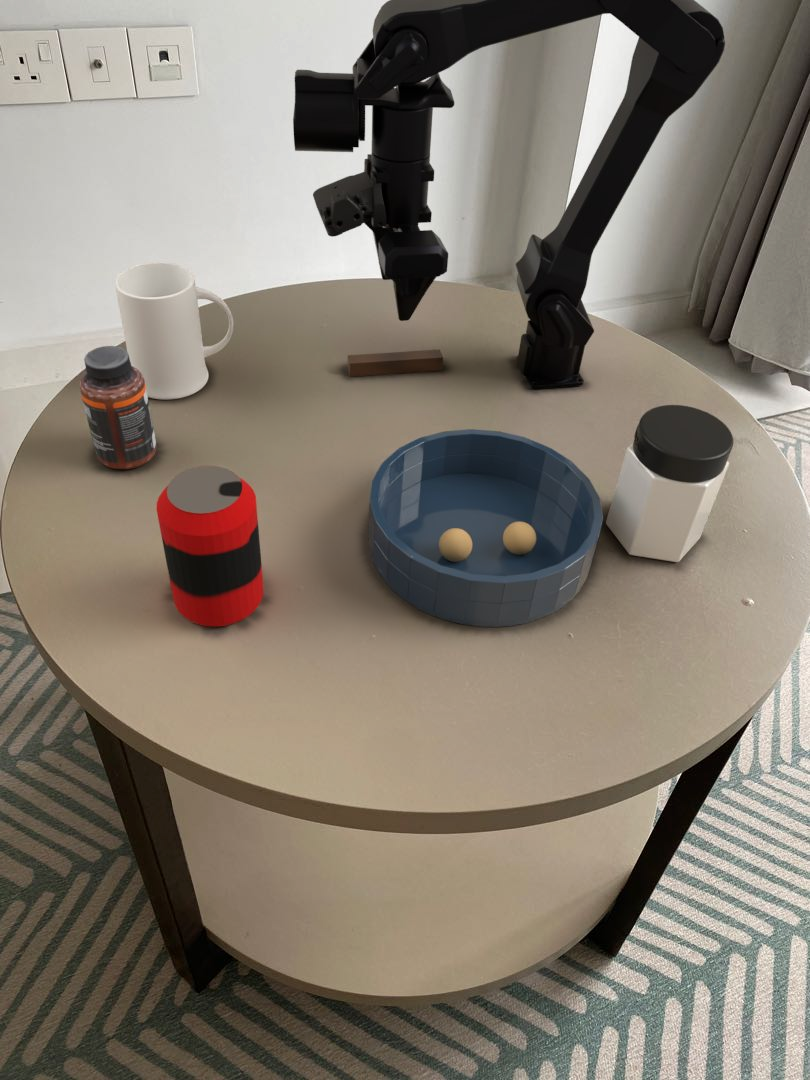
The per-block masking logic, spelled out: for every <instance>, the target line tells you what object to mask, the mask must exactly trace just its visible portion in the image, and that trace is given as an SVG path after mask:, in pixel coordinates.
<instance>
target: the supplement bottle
mask: <svg viewBox="0 0 810 1080" xmlns="http://www.w3.org/2000/svg"><path fill="white" fill-rule="evenodd" d="M83 360H84V366H85V373H84V374H83V375H82V376H81V379H80V382H79V390H80V391H79V392H80V395H81V400H82V404H83V409H84V412H85V416H86V419H87V423H88V428H89V432H90V436H91V439H92V444H93V447H94V452H95V454H96V457H97V459H98V461H99V462H100V463H101V464H102V465H104V466H105V467H108V468H111V469H115V470H130V469H134V468H135V469H136V468H138V467H140V466H143V465H145V464H147V463H148V462H150V461H151V460H152V459H153V457H154V456H155V454H156V452H157V448H158V447H157V439H156V435H155V429H154V424H153V423H154V422H153V418H152V413H151V412H152V411H151V407H150V402H149V401H150V400H149V397H148V396H147V391H146V386H145V381H144V378H143V375H142V374H141V372H140V371H139V370H138V369H136V368H135V367H133V366H131V362H130V359H129V354H128V352H127V349H126V348H123V347H120V346H116V345H103V346H99V347H95V348H94V349H91V350H89V351H88V352H87V353H86V354H85V356H84V359H83Z"/></svg>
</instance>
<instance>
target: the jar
mask: <svg viewBox="0 0 810 1080" xmlns="http://www.w3.org/2000/svg"><path fill="white" fill-rule="evenodd" d="M633 437H634V439H633V442H632V443H631V444H630V445H628V447H627V448H626V451H625V454H624V457H623V461H622V465H621V467H620V472H619V475H618V479H617V482H616V485H615V490H614V492H613V497H612V500H611V503H610V506H609V510H608V513H607V517H606V520H605V525H606V526H607V527H608V529H609V530H610V531H611V533H612V534H613V535H614V536H615V538H616V539H617V540H618V542H619V543H620V544H621V546H622V547H623V549H624V550H625V551H626V553H627V554H628V555H630V556H634V557H643V558H648V559H654V560H660V561H666V562H671V563H679V562H680V561H681V560H682V559H683V558H684V557H685V555H687V553H688V552H689V551H690V550H691V549H692V548H693V547H694V545H696V544H697V543H698V541H699V540H700V538H701V537H702V534H703V531H704V530H705V527H706V524H707V521H708V519H709V517H710V514H711V511H712V510H713V506H714V504H715V501H716V498H717V496H718V493H719V491H720V489H721V486H722V484H723V482H724V478H725V476H726V473H727V471H728V469H729V466H730V462H729V461H728V460H729V457H730V455H731V452H732V450H733V447H734V436H733V434H732V431H731V430H730V428H729V427H728V426H727V425H726V424H725V423H724V422H723V421H722V420H721V419H720V418H719V417H717V416H715V415H713V414H711V413H709V412H707V411H705V410H702V409H699V408H696V407H694V406H693V407H692V406H688V405H680V404H664V405H659V406H655V407H652V408H651V409H649V410H647V411H646V412H645V413H643V414H642V416H641V417H640V419H639V422H638V423H637V426H636V428H635V431H634V435H633Z"/></svg>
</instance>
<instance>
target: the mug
mask: <svg viewBox="0 0 810 1080" xmlns="http://www.w3.org/2000/svg"><path fill="white" fill-rule="evenodd" d="M114 289H115V294H116V299H117V304H118V310H119V314H120V320H121V325H122V330H123V336H124V342H125V347H126V351H127V352H128V354H129V359H130V362H131V366H133V367H135V368H136V369H138V370H139V371H140V372H141V374H142V375H143V378H144V381H145V386H146V391H147V396H148V399H149V398H150V399H154V400H161V401H162V400H164V401H165V400H177V399H183V398H186V397H189V396H191V395H194V394H195V393H197V392H199V391H201V390H202V389H203V388H204V387H205V386H206V384H207V383H208V381H209V378H210V377H209V374H210V373H209V370H208V368H207V365H206V358H207V357H210V356H212V355H213V356H214V355H215V354H217V353H219V352H220V351H221V350H224V348H225V347H226V346H227V345H228V343H229V342H230V340H231V338H232V336H233V333H234V327H235V325H234V317H233V314H232V311H231V309H230V307H229V306H228V304H227V303H226V302H225V301H224V300H223V299H222V298H221V297H220V296H218V294H216V293H214V292H212V291H210V290H207V289H204V288H201V287H198V286H197V285H196V278H195V275H194V273H193V272H192V271H191V270H190V269H189V268H187V267H185V266H182V265H180V264H177V263H171V262H162V261H161V262H160V261H157V262H156V261H154V262H146V263H145V262H144V263H140V264H136V265H133V266H132V265H131V266H130V267H128V268H126V269H124V270H122V271H120V272H119V274H117V275H116V276H115V279H114ZM198 300H207V301H210V302H213V303H215V304H216V305H218V306H219V307H220V308H221V309H222V310H223V311H224V313H225V314H226V316H227V319H228V329H227V332H226V334H225V336H224V337H223V338H222V339H221V340H220V341H219V342H216V343H215V344H213V345H208V346H207V345H205V346H204V344H203V336H202V327H201V320H200V311H199V302H198Z"/></svg>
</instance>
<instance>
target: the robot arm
mask: <svg viewBox="0 0 810 1080" xmlns="http://www.w3.org/2000/svg"><path fill="white" fill-rule="evenodd" d="M376 14H377V15H375V18H374V21H373V25H372V26H373V27H372V38H371V40H370V41H369V42H368V44H367V45H366V46H365V48H364V50H363V51H362V53H361V54H360V55H359V56H358V58H356V61H355V62H354V63H353V65H352V73H347V72H346V73H345V72H343V73H342V72H317V71H314V70H311V69H296V70H295V72H294V107H293V117H292V125H293V129H292V130H293V143H294V151H295V152H329V153H354V148H360V142H365V141H366V107H367V106H369V107H370V106H371V116H372V117H371V153H369V154H368V153H367V155H366V156H367V157H366V158H365V159H364V163H363V164H364V165H363V166H364V169H363V172H360V173H356V174H353V175H348V176H345V177H343V178H340V179H338V180H336V181H333V182H330V183H328V184H325V185H323V186H321V187H319V188H317V189H316V190H314V191H313V193H312V197H313V200H314V203H315V206H316V209H317V211H318V214H319V216H320V218H321V221H322V225H323V227H324V229H325V231H326V233H327V235H328V236H329V237H332V238H333V237H338V236H340V235H342V234H344V233H346V232H349V231H351V230H353V229H356V228H359V227H361V226H362V225H363V224H364V225H365V226H367V227H368V229H370V231H371V232H372V235H373V241H374V245H375V250H376V255H377V260H378V265H379V270H380V275H381V278H382V280H383V281H388V280H389V281H390V280H391V281H392V284H393V291H394V297H395V298H394V299H395V306H396V312H397V317H398V318H397V319H398V320H399V321H400V322H404V321H405V322H406V321H409V320H410V319H411V318H412V316H413V314H414V313H415V311H416V310H417V308H418V306H419V304H420V302H421V301H422V299H423V298H424V296H425V295H426V293H427V291H428V289H429V288H430V287H431V286H432V284H433V283H434V281H435V280H436V279H437V278H439V277H441V276H442V275H444V274H446V273H447V272H448V264H449V252H448V250H447V248H446V247H445V244H444V243H443V241H442V239H441V238H440V236H439V235H437V234H436V233H435V231H433V230H432V229H427V230H426V229H425V230H423V229H422V230H421V229H420V227H419V224H424V223H432V210H431V208H430V207H429V205H428V197H429V182H435V169H434V168H433V166H432V164H431V163H430V162H431V147H432V146H431V145H432V128H433V114H434V113H433V112H434V109H435V108H436V109H451V108H453V107H454V106H455V100H454V97H453V92H452V90H451V89H450V88H449V87H448V86H447V85H446V83H444V82H443V80H442V78H441V76H440V73H442V72H444V71H446V70H447V69H449V68H451V67H452V66H454V65H455V64H457V63H458V62H460V61H461V60H463V59H464V58H465V57H467V56H468V55H470V54H472V53H473V52H476V51H478V50H480V49H482V48H485V47H489V46H492V45H493V46H494V45H496V44H500V43H504V42H507V41H511V40H514V39H518V38H521V37H525V36H528V35H532V34H536V33H540V32H543V31H547V30H551V29H553V28H558V27H561V26H564V25H568V24H572V23H576V22H579V21H584V20H586V19H590V18H594V17H598V16H602V15H608V14H610V15H611V16H613V18H615V19H617V20H618V21H619V22H621V24H622V25H624V26H626V27H627V29H628V30H630V31H631V32H632V33H634V34H635V35H636V36H637V37H638V40H637V41H636V45H635V47H634V51H633V54H632V56H631V57H632V58H631V61H630V68H629V72H628V78H627V85H626V90H625V93H624V96H623V97H622V100H621V102H620V104H619V106H618V108H617V110H616V112H615V114H614V116H613V118H612V120H611V121H610V123H609V125H608V127H607V128H606V129H607V130H606V131H605V132H604V135H603V137H602V138H601V141H600V143H599V145H598V147H597V149H596V150H595V153H594V154H593V156H592V158H591V160H590V162H589V164H588V166H587V168H586V170H585V172H584V174H583V175H582V177H581V179H580V182H579V183H578V186H577V187H576V188H575V191H574V193H573V195H572V197H571V199H570V201H569V202H568V205H567V206H566V208H565V211H564V212H563V214H562V216H561V218H560V220H559V222H558V224H557V225H556V227H555V228H554V229H553V230H552V231H551V232H550V233H548V235H546V236H544V238H543V239H542V238H540V237H539V236H537V235H536V234H531V236H530V237H529V239H528V242H527V246H526V249H525V250H524V253H523V255H522V256H521V258H520V259H519V260H518V261H516V263H515V267H516V271H517V275H516V285H517V289H518V292H519V295H520V298H521V302H522V304H523V307H524V311H525V313H526V315H527V316H526V317H527V318H528V320H527V325H526V330H525V333H522V335H521V336H520V343H519V349H518V354H517V356H516V357H515V362H516V365H517V367H518V369H519V371H520V373H521V375H522V376H523V377H524V379H525V381H526V382H527V384H528V386H529V388H531V389H533V390H534V389H535V390H539V389H551V388H554V389H555V388H566V387H579V386H583V385H584V382H585V380H584V378H583V377H582V375H581V374H580V370H581V366H582V361H583V357H584V354H585V353H584V352H585V348H586V345H587V343H588V342H589V341H590V339H591V337H592V336H593V334H594V332H595V328H594V326H593V324H592V321H591V319H590V317H589V314H588V312H587V310H586V307H585V304H584V303H583V300H582V298H583V295H584V293H585V290H586V287H587V283H588V278H589V272H590V266H591V261H592V256H593V253H594V250H595V248H596V247H597V246H598V243H599V241H600V240H601V238H602V236H603V234H604V232H605V230H606V229H607V227H608V225H609V224H610V221H612V218H613V216H614V215H615V212H616V211H617V209H618V207H619V206H620V203H621V202H622V200H623V199H624V196H625V195H626V193H627V191H628V189H629V187H630V186H631V183H633V180H634V178H635V177H636V175H637V173H638V172H639V170H640V168H641V166H642V164H643V162H644V161H645V159H646V157H647V155H648V153H649V152H650V149H651V148H652V146H653V144H654V143H655V141H656V139H657V138H658V135H659V133H660V132H661V130H662V128H663V126H664V125H665V123H666V122H667V121H668V119H669V118H670V117H671V116H672V115H673V114H675V113H676V112H677V111H678V110H679V109H681V107H683V106H684V105H685V104H686V103H687V102H689V101H690V100H691V99H692V98H693V97H695V95H696V93H697V92H698V91H699V90H700V88H701V87H702V86H703V84H704V83H705V82H706V80H707V79H708V78H709V77H710V75H711V74H712V73H713V71H714V70H715V69H716V67H717V66H718V64H719V63H720V61H721V59H722V57H723V54H724V51H725V47H726V40H725V32H724V27H723V25H722V23H721V22H720V20H719V19H718V18H717V17H716V16H714V14H712V13H711V12H710V11H708V10H707V9H706V8H705V7H704V6H703V5H701V4H700V3H699V2H697V1H696V0H387V1H386V2H385V3H384V4H382V5H381V7H380V9H379V11H378V13H376Z"/></svg>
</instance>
